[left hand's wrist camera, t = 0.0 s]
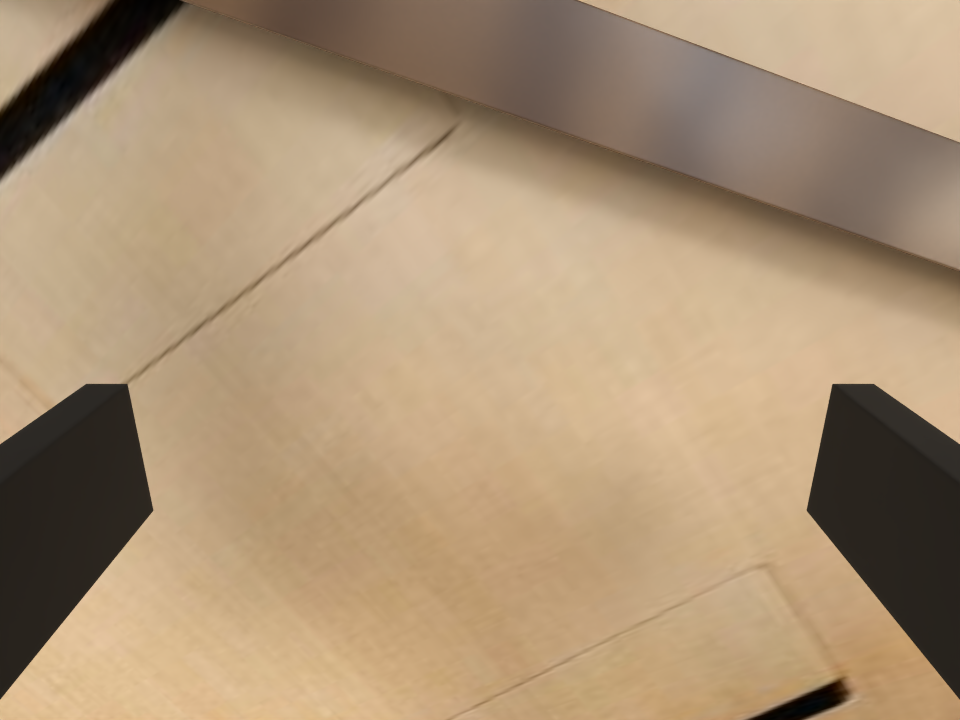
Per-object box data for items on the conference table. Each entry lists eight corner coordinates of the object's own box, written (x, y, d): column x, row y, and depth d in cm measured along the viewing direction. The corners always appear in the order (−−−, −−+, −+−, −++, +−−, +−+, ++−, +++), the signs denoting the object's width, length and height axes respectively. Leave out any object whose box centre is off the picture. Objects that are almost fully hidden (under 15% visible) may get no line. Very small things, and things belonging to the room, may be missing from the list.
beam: (-260, -153, 32) (-455, -222, 26) (-268, -284, 31) (-479, -394, 24) (1113, 325, 41) (1238, 368, 34) (1169, 245, 39) (1312, 273, 33)
